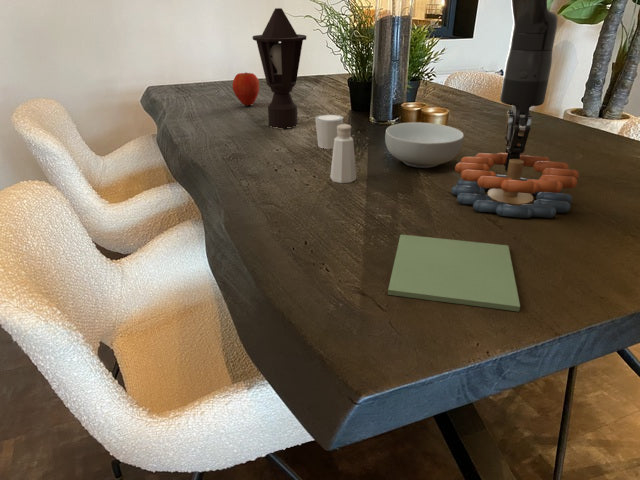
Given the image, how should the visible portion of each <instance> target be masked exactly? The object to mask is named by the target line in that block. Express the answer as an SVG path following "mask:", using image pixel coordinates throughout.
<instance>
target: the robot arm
mask: <svg viewBox="0 0 640 480" xmlns="http://www.w3.org/2000/svg"><path fill="white" fill-rule="evenodd" d="M510 2H511V3H510V4H511V14H512V21H513V24H512V30H511V35H510V41H509V49H508V53H507V56H506V60H505V64H504V65H505V66H504V71H503V78H502V85H501V91H500V98H499V100H500V102H501V103H503V104H504V105H506V106H507V105H508V106H511V109H508V111H507V112H506V116H505V117H506V124H505V131H504V133H505V135H504V140H505V142H504V145H505V152H504V153H507V159H506V164H504V165H503V166H504V170H505V172H506V173H507V171H508V165H509V160H510V159H520V154H524V152H525V149H526V145H527V142H528V138H529V134H530V131H531V125H532V119H533V115H531V112H530V109H531V108H532V107H539V106H542V105H543V104H544V103H545V101H546V94H547V89H548V85H549V80H550V79H549V78H550V74H551V68H552V64H553V51H554V50H553V49H554V45H555V39H556V35H557V28H558V23H559V21H558V19H559V18H558V16H557V13H555V12H553V11H551V10H549V8H548V0H510Z"/></svg>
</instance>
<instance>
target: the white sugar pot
mask: <svg viewBox="0 0 640 480" xmlns="http://www.w3.org/2000/svg"><path fill="white" fill-rule="evenodd" d="M314 119H315V131H316V139H317V147H318V148H320V149H323V148H324V150H333V147H334V139H335V138H336V137H337V135H338V134H337V126H338V125H341V124H344V116H343V115H339V114H319V115H316V116H315V117H314Z"/></svg>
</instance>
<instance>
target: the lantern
mask: <svg viewBox="0 0 640 480" xmlns="http://www.w3.org/2000/svg"><path fill="white" fill-rule="evenodd" d="M251 38H252V40H253V41H255V42H256V45H257V49H258V53H259V58H260V61H261V65H262V69H263V74H264V77H265V82H266V85H267V86H268V87H269V88H270V91H271V93H273V95H272V99H271V102H270V103H269V105H268V106H267V115H268V117H267V118H268V126H269V125H270V126H272V127H278V128H287V127H293V126H296V125H297V124H298V125H299V122H298V120H299V119H298V105H297V104H296V103H295V102H294V100H293V96H292V94H291V92H293V88H294V87H295V86H296V85H297V80H298V74H299V68H300V61H301V55H302V48H303V43H304V41H307V35H305V34H300V33H299V34H298V33H297V32H296V30H295V28H294V27H293V24H292V23H291V21H290V20H289V18H288V16H287V15H286V13H285V11H284V10H283V8H282V7H275V8H274V9H273V11H272V14H271V16H270V18H269V20H268V21H267V23H266V26H265V28H264V30H263V31H262V34H256V35H253V36H252V37H251Z"/></svg>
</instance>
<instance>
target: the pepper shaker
mask: <svg viewBox="0 0 640 480" xmlns="http://www.w3.org/2000/svg"><path fill="white" fill-rule="evenodd" d="M351 129H352V126H351V125H350V124H347V123H343V124H341V125H338V126H337V134H338V135H337V137H336V138H335V139H334V147H333V149H332V157H331V167H330V175H329V178H330V180H331V181H332V182H333V183H337V184H351V183H353V182H355V181H356V180H357V171H356V156H355V145H354V138H353V137H352V136H351V134H352V130H351Z"/></svg>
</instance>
